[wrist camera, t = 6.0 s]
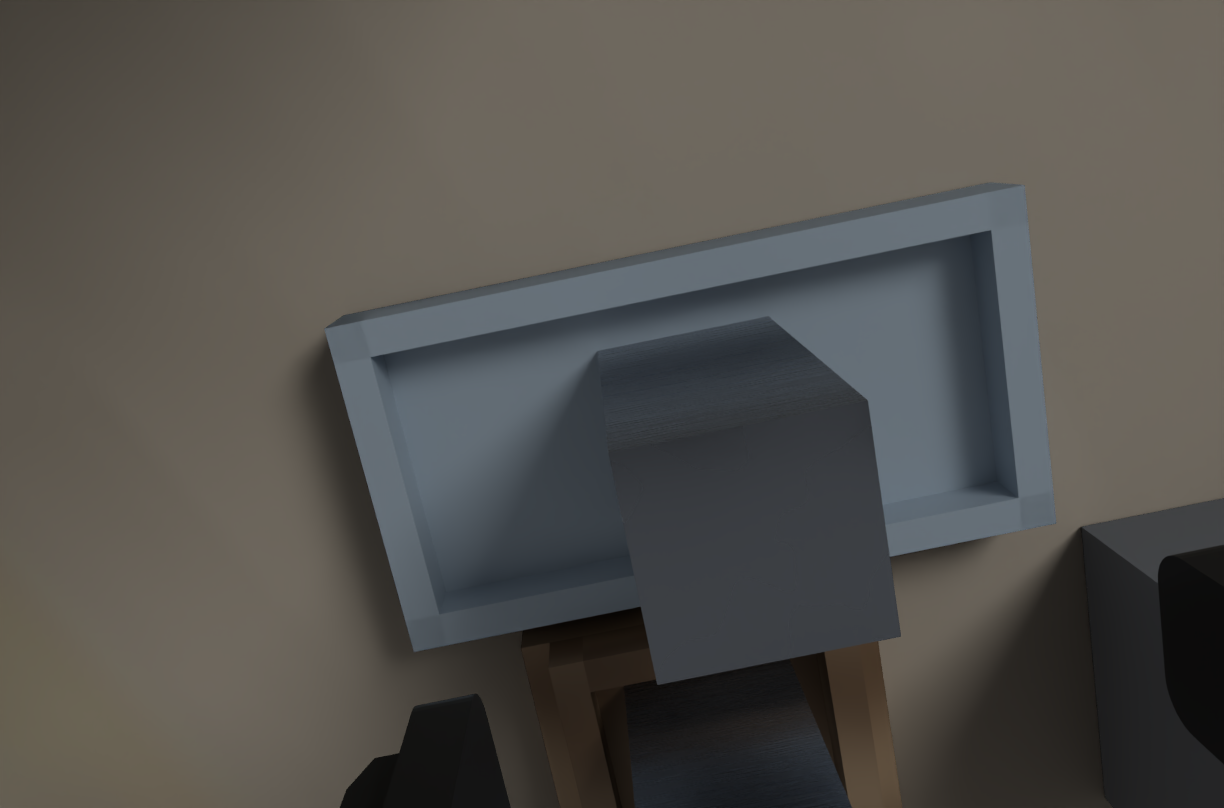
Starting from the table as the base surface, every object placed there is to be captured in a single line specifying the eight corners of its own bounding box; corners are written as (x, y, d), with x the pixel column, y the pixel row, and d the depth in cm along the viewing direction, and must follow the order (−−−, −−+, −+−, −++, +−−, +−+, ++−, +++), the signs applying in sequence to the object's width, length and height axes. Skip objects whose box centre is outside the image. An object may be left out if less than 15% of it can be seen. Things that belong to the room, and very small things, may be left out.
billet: (597, 351, 23) (608, 452, 15) (768, 316, 23) (867, 400, 15) (630, 511, 24) (657, 685, 16) (794, 478, 24) (901, 636, 16)
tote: (343, 315, 23) (324, 328, 21) (990, 182, 23) (1024, 184, 21) (425, 617, 25) (414, 652, 23) (1022, 497, 25) (1056, 523, 23)
